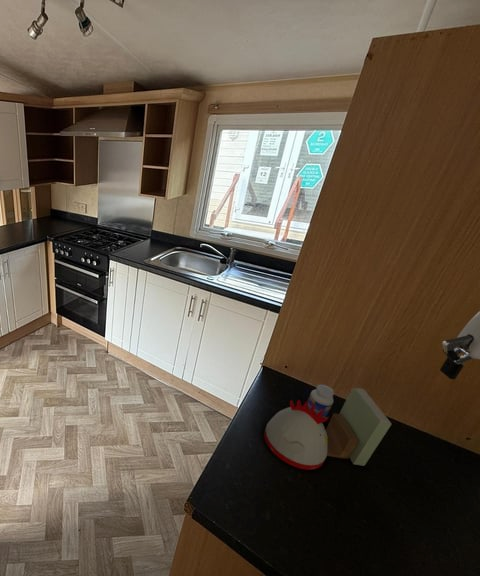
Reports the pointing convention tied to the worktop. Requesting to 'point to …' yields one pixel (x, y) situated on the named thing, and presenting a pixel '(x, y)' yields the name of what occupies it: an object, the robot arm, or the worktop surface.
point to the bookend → (340, 438)
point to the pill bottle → (321, 399)
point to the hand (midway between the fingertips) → (472, 377)
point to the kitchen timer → (298, 436)
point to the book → (364, 424)
